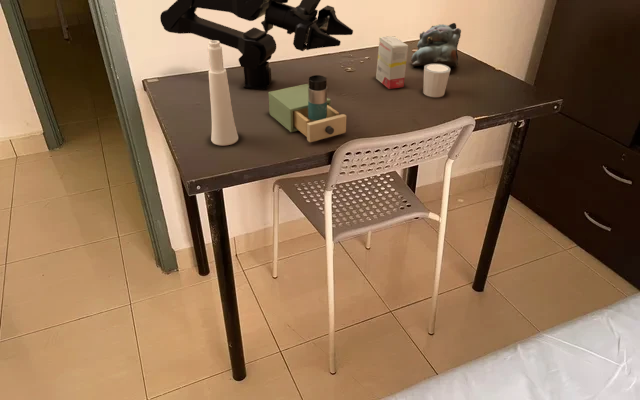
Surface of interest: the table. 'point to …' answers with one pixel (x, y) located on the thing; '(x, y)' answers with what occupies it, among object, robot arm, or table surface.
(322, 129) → the drawer
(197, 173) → the table surface
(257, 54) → the robot arm
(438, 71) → the white cylinder
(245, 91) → the table surface
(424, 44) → the lucky cat figurine
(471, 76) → the table surface
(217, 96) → the cosmetic bottle
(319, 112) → the thermos flask
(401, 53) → the ink box
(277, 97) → the drawer unit
